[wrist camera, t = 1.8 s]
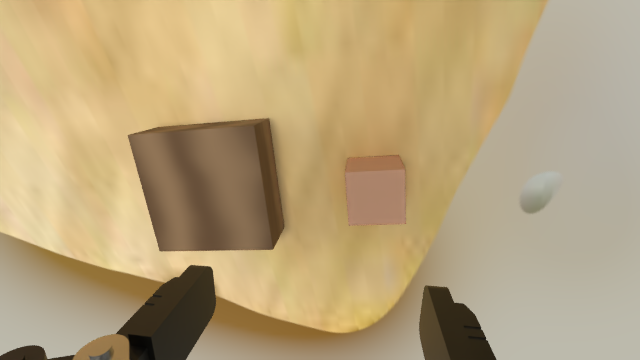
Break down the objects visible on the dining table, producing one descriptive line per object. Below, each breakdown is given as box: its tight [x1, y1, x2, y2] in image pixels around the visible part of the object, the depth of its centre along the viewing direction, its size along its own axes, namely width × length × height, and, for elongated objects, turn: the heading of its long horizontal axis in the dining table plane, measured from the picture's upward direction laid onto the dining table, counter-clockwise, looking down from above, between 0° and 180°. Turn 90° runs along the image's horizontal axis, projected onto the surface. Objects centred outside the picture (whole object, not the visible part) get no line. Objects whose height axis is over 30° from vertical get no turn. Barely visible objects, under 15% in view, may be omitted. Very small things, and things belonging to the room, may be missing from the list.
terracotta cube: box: [345, 155, 406, 225], centre depth 30 cm, size 5×5×5 cm
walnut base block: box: [128, 118, 284, 251], centre depth 32 cm, size 12×12×5 cm
